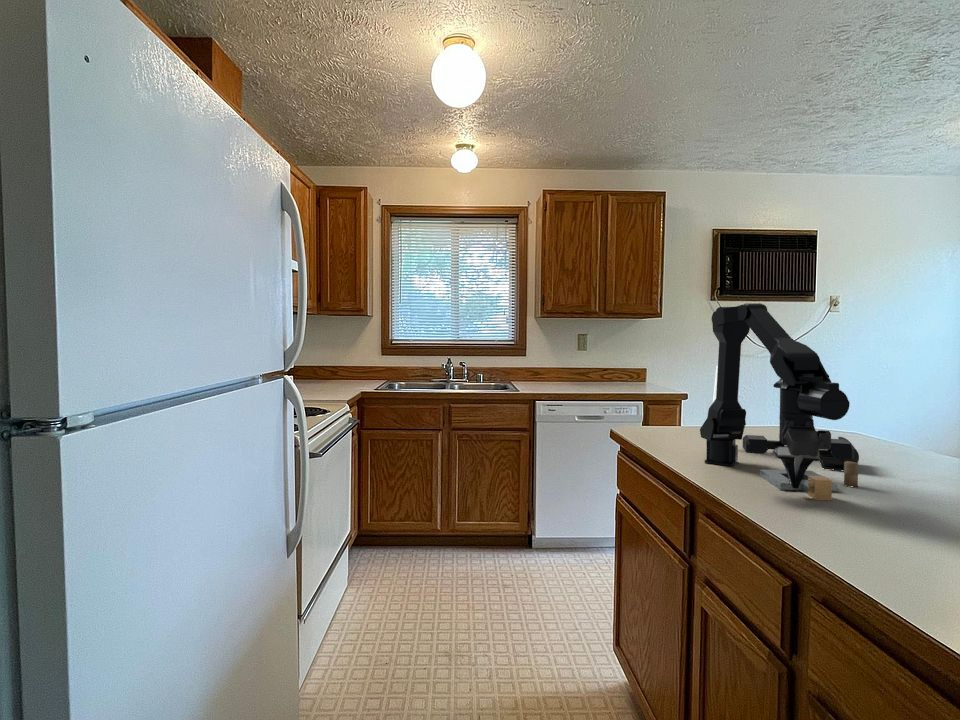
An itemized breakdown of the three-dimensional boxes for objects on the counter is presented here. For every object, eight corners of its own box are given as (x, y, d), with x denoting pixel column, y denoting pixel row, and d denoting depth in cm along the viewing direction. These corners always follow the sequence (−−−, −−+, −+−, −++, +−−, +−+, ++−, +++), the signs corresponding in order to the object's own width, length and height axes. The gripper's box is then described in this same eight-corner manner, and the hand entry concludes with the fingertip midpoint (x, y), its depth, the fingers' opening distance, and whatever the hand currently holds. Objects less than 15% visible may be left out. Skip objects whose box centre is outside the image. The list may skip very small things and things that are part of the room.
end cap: (859, 473, 120) (859, 444, 120) (822, 470, 124) (823, 442, 123) (852, 463, 129) (853, 437, 129) (819, 460, 133) (819, 434, 132)
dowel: (843, 486, 111) (844, 463, 110) (844, 483, 112) (844, 460, 112) (857, 488, 109) (857, 464, 109) (858, 485, 111) (858, 462, 111)
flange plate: (760, 475, 119) (760, 458, 119) (811, 477, 118) (811, 459, 117) (793, 499, 103) (793, 479, 102) (853, 501, 101) (854, 480, 101)
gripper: (750, 416, 100) (749, 495, 100) (865, 420, 93) (864, 505, 94) (742, 408, 110) (741, 480, 111) (845, 411, 104) (844, 487, 104)
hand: (794, 488), depth 105 cm, fingers closed
